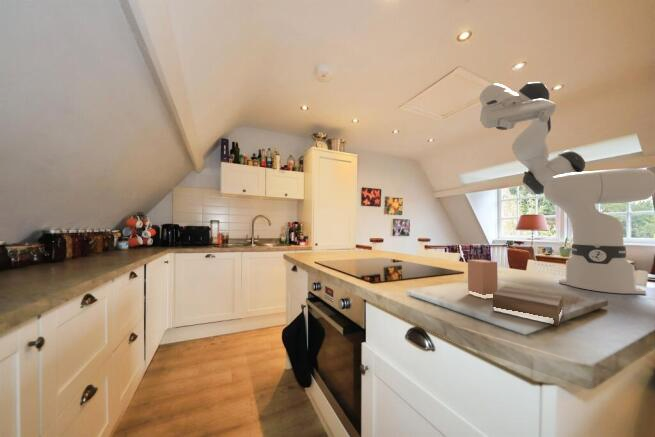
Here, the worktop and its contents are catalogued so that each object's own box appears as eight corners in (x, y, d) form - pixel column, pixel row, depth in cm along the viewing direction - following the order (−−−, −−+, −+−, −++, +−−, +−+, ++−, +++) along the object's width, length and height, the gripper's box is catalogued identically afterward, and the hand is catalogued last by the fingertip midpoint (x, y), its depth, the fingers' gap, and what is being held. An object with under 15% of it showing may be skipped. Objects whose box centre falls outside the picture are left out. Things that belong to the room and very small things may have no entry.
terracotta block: (468, 294, 70) (467, 259, 70) (482, 293, 71) (481, 259, 71) (483, 299, 65) (482, 262, 65) (497, 298, 66) (497, 261, 67)
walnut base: (504, 301, 63) (504, 286, 63) (563, 313, 55) (562, 295, 55) (492, 311, 56) (492, 293, 56) (558, 326, 47) (557, 305, 48)
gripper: (538, 109, 85) (563, 125, 75) (475, 122, 90) (491, 139, 80) (544, 90, 81) (571, 105, 71) (478, 105, 85) (495, 120, 76)
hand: (528, 123), depth 76 cm, fingers open, 8 cm apart
